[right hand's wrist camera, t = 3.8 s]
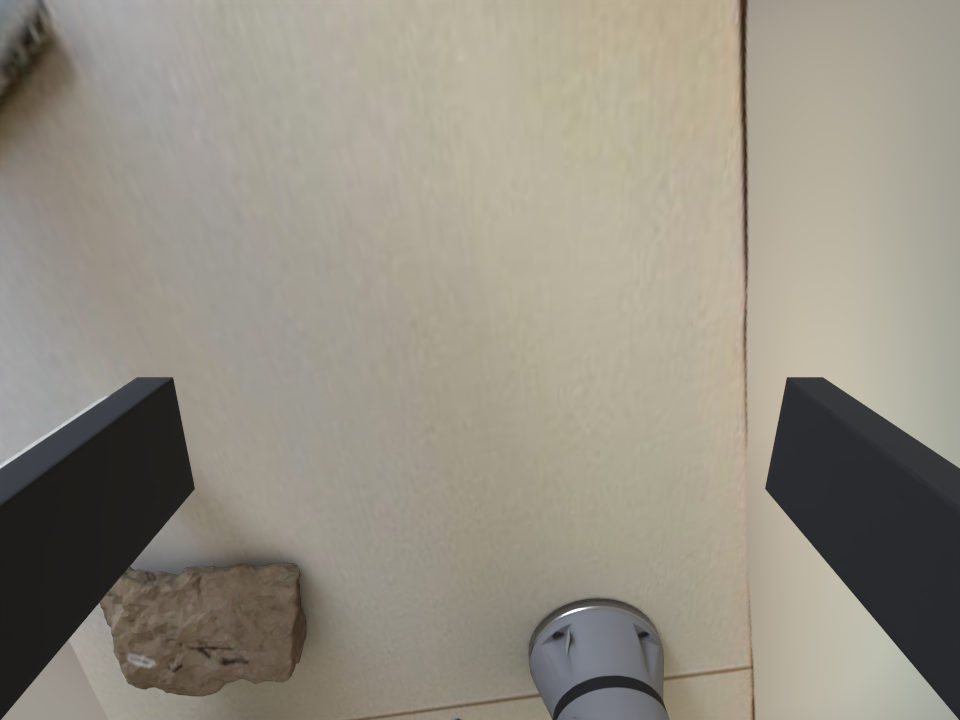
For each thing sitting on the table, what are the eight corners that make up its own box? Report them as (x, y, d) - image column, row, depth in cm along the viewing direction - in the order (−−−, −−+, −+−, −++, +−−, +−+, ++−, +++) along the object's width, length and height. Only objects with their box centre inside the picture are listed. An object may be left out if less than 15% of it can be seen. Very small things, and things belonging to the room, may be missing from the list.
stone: (114, 679, 65) (87, 718, 59) (106, 553, 63) (77, 580, 57) (308, 661, 68) (302, 697, 63) (306, 542, 67) (299, 566, 61)
